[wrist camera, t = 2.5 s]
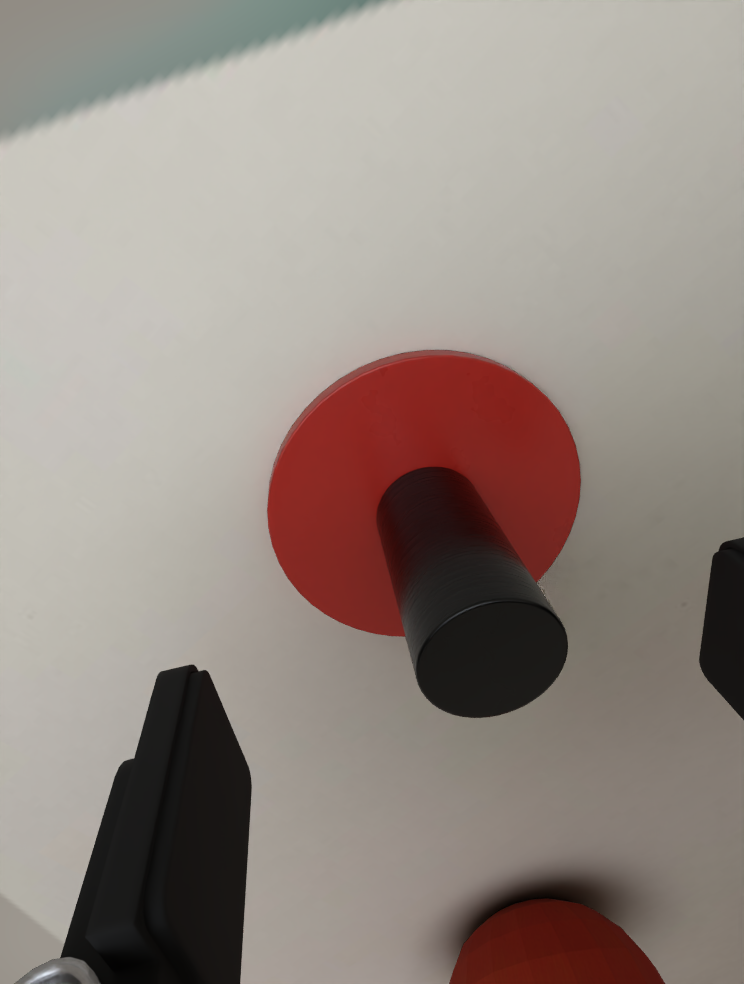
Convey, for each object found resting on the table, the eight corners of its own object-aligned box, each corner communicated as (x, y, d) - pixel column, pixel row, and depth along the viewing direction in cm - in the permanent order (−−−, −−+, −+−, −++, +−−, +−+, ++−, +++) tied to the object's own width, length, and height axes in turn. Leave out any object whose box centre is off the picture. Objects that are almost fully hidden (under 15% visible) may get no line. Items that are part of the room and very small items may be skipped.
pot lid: (457, 273, 13) (576, 321, 7) (623, 507, 16) (785, 656, 11) (199, 498, 15) (144, 671, 9) (400, 666, 18) (444, 863, 13)
